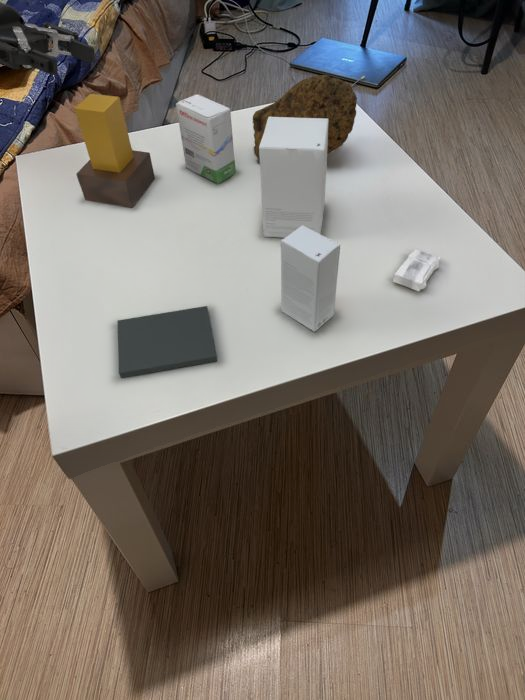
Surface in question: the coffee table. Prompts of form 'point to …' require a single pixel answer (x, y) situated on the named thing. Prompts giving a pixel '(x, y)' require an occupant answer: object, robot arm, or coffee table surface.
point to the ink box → (206, 137)
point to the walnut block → (118, 181)
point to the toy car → (416, 270)
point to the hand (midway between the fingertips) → (75, 61)
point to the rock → (313, 108)
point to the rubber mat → (165, 341)
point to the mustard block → (104, 132)
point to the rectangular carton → (293, 174)
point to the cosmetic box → (309, 277)
